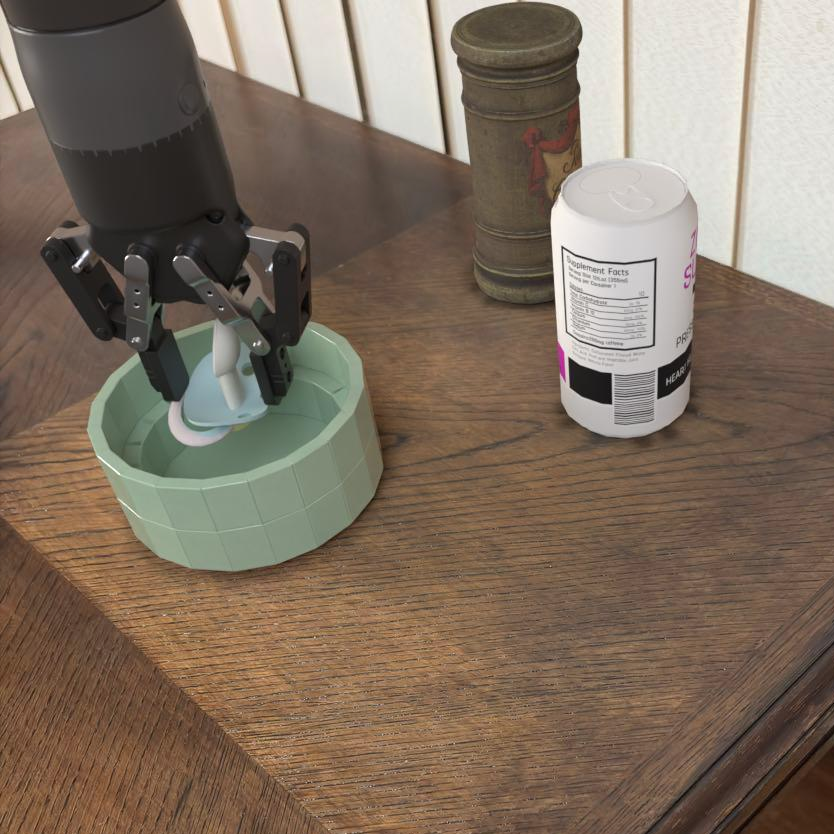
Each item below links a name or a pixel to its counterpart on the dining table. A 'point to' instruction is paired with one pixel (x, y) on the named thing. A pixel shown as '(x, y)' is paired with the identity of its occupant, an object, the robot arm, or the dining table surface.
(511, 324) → the dining table surface
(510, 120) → the container
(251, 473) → the bowl
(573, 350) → the supplement can
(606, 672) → the dining table surface
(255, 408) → the pacifier
